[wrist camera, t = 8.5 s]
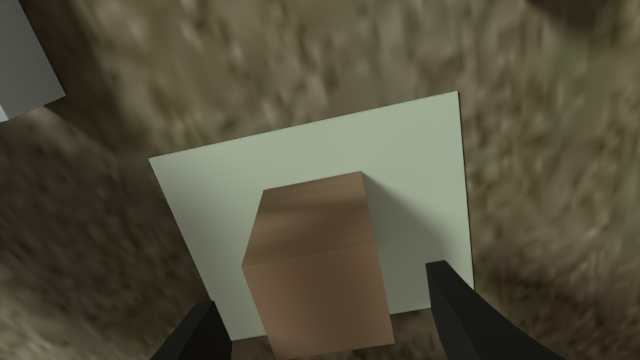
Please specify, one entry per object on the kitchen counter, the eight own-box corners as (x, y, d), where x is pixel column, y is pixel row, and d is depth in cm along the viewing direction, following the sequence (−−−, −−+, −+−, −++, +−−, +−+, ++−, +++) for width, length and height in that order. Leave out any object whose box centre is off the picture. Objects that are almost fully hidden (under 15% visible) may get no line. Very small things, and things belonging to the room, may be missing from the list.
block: (288, 267, 18) (276, 361, 14) (263, 189, 16) (241, 267, 12) (376, 252, 18) (394, 343, 13) (360, 170, 16) (375, 243, 12)
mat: (229, 339, 20) (229, 340, 20) (149, 158, 16) (148, 159, 16) (474, 298, 19) (474, 300, 19) (456, 90, 15) (457, 91, 15)
